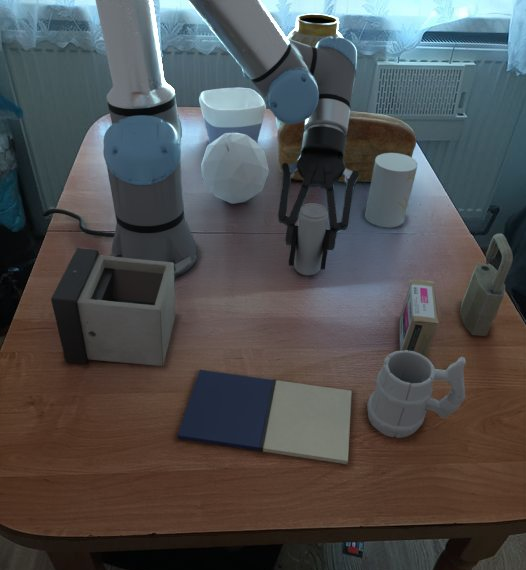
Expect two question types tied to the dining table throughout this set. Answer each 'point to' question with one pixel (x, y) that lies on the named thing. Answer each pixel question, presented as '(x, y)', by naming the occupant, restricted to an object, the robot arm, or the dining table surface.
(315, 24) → the vase
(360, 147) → the bread
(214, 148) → the geodesic sphere
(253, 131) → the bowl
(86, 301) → the grey open box
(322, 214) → the beverage can
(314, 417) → the board
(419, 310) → the ink box
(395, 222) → the white cylinder
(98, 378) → the dining table surface
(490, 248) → the padlock
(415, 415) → the mug
